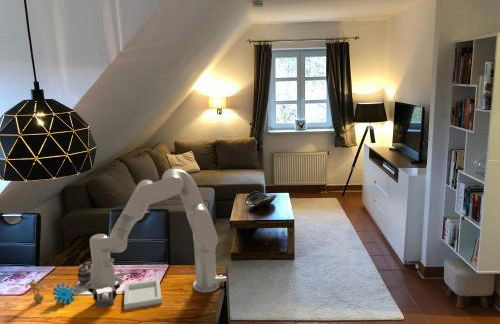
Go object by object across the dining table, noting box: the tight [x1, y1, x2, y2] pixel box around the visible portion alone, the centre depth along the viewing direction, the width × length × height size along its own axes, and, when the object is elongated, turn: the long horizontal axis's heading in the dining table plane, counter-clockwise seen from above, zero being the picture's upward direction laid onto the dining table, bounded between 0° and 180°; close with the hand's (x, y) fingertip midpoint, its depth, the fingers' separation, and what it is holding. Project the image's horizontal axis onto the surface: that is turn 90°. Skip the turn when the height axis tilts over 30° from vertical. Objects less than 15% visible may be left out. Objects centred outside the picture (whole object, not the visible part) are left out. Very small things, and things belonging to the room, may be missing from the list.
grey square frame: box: [96, 290, 115, 308], centre depth 176 cm, size 7×8×3 cm
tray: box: [123, 278, 163, 310], centre depth 181 cm, size 16×18×2 cm
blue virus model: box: [52, 282, 76, 305], centre depth 178 cm, size 11×6×10 cm
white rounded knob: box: [102, 291, 109, 299], centre depth 177 cm, size 3×4×4 cm
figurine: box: [25, 278, 45, 303], centre depth 176 cm, size 8×6×12 cm
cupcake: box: [77, 260, 92, 288], centre depth 192 cm, size 10×10×10 cm
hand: (105, 299), depth 177 cm, fingers closed on grey square frame, 6 cm apart
